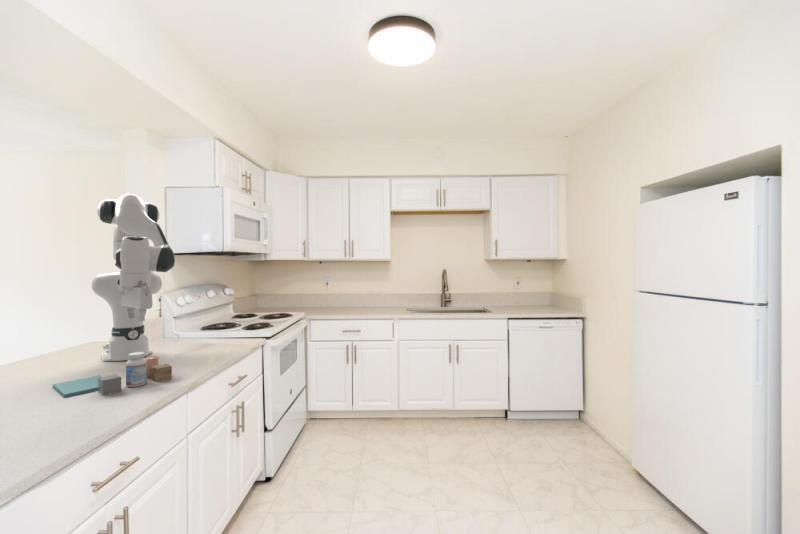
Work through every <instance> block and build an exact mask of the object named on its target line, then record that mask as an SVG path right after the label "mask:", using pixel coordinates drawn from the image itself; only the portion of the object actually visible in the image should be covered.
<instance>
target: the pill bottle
mask: <svg viewBox="0 0 800 534" xmlns="http://www.w3.org/2000/svg"><path fill="white" fill-rule="evenodd" d="M128 358H129V360H126V362H125V386H126V387H127V388H137V387H140V386H144V385H146V384H147V382H148V380H147V379H148V378H147V361H146V359H144V358H145V357H144V352H134V353H130V354H128Z"/></svg>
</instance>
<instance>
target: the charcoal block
mask: <svg viewBox="0 0 800 534" xmlns="http://www.w3.org/2000/svg"><path fill="white" fill-rule="evenodd" d="M118 391H120V392H122V376H121V375H119V374H117V373H115V374H111V375H104V376H102V377H99V378H98V390H97V392H98V393H99V394H100V393H101V394H102V396H106V395H105V394H107V395H110V394H109V393H112V394H115V393H114V392H116V393H119V392H118ZM101 394H100V395H101Z"/></svg>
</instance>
